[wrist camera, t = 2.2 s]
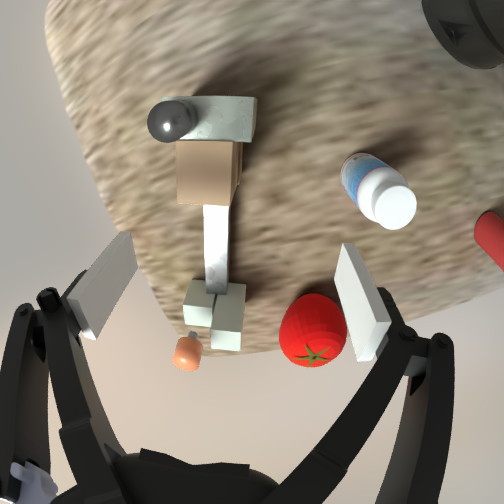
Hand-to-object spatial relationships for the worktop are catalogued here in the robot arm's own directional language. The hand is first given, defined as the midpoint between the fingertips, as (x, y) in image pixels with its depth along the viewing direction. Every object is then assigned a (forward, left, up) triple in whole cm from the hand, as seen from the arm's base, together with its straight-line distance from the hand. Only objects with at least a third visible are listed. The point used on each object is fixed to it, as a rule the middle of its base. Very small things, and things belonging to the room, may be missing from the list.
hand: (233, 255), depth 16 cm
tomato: (+22, +11, -20) cm, 32 cm away
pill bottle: (-1, +14, -20) cm, 24 cm away
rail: (+4, -4, -20) cm, 20 cm away
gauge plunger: (+20, -6, -10) cm, 23 cm away
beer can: (+3, +41, -20) cm, 46 cm away
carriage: (-2, -4, -20) cm, 20 cm away
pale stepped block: (+20, -4, -20) cm, 28 cm away
